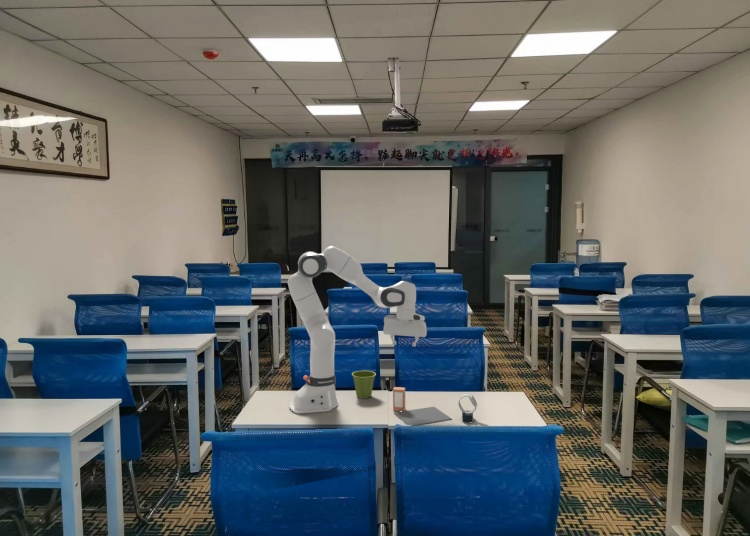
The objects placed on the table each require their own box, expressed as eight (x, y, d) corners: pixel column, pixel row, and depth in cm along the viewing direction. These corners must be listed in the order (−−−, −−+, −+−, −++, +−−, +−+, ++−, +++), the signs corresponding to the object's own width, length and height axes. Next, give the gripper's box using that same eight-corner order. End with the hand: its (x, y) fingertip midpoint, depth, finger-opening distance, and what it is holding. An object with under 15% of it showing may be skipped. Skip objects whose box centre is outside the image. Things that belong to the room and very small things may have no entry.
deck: (394, 408, 228) (394, 387, 227) (405, 409, 227) (405, 387, 226) (393, 411, 225) (393, 389, 224) (404, 411, 224) (404, 390, 223)
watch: (477, 422, 210) (477, 397, 209) (458, 422, 211) (458, 396, 210) (476, 417, 216) (477, 392, 215) (458, 417, 217) (458, 392, 216)
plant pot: (378, 399, 241) (378, 376, 240) (354, 401, 238) (354, 378, 237) (373, 391, 252) (373, 369, 251) (350, 393, 250) (349, 371, 249)
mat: (409, 426, 207) (409, 425, 207) (393, 413, 222) (393, 412, 222) (451, 419, 214) (451, 418, 214) (433, 407, 229) (433, 406, 229)
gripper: (382, 314, 234) (380, 344, 233) (425, 317, 229) (424, 347, 228) (385, 314, 241) (384, 343, 239) (428, 317, 235) (426, 346, 234)
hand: (404, 345), depth 234 cm, fingers open, 8 cm apart
